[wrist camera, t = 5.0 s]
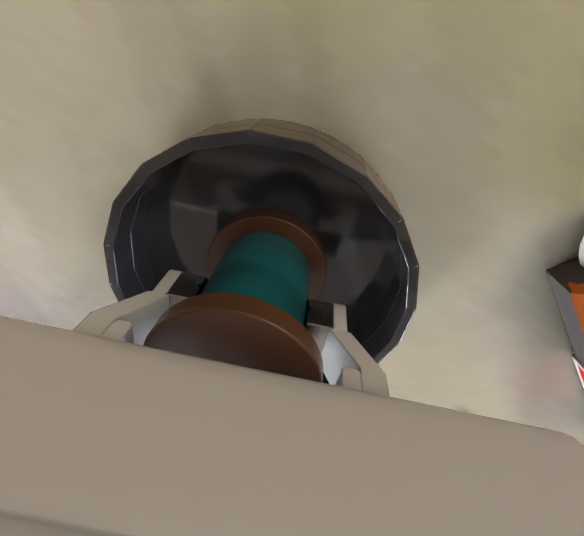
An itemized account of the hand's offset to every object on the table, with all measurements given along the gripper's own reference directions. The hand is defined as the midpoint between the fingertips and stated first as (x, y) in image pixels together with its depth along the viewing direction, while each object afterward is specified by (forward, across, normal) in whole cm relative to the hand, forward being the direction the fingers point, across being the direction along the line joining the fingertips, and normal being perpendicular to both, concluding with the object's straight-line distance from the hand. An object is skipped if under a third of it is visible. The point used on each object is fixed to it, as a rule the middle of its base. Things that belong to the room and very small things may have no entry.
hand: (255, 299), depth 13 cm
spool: (+3, 0, 0) cm, 3 cm away
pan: (+3, 0, 0) cm, 3 cm away
